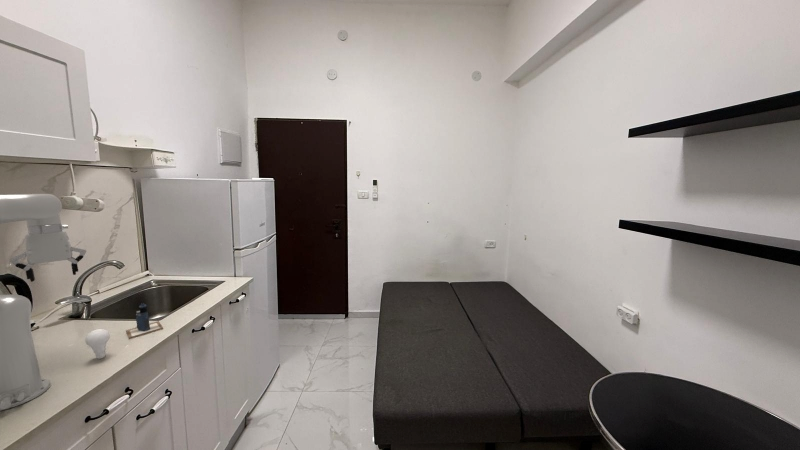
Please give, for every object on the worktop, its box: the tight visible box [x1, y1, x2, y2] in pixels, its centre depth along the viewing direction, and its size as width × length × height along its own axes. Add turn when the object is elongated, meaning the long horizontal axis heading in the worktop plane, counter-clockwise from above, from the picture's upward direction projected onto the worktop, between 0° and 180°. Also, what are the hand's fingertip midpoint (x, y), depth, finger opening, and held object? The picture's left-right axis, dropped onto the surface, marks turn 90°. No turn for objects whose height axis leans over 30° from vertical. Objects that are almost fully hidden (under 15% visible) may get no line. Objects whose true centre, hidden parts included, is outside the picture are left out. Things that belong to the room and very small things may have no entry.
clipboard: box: [125, 320, 164, 340], centre depth 126 cm, size 9×11×1 cm
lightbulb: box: [84, 328, 110, 359], centre depth 105 cm, size 6×6×11 cm
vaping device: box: [135, 302, 150, 331], centre depth 124 cm, size 3×5×12 cm, turn 74°
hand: (54, 277), depth 103 cm, fingers open, 9 cm apart
